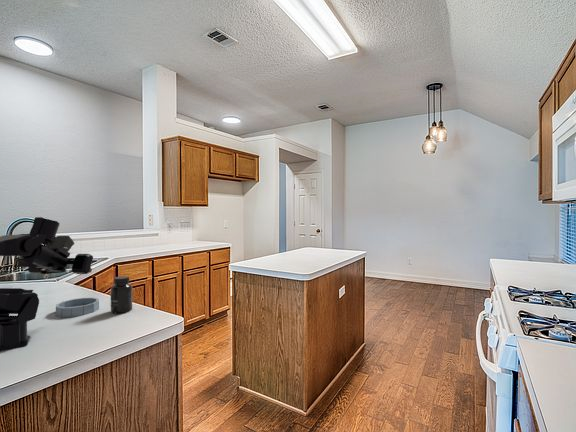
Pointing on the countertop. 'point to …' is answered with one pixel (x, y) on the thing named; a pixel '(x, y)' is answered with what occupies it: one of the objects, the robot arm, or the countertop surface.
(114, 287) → the supplement bottle
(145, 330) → the countertop surface
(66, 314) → the bowl
